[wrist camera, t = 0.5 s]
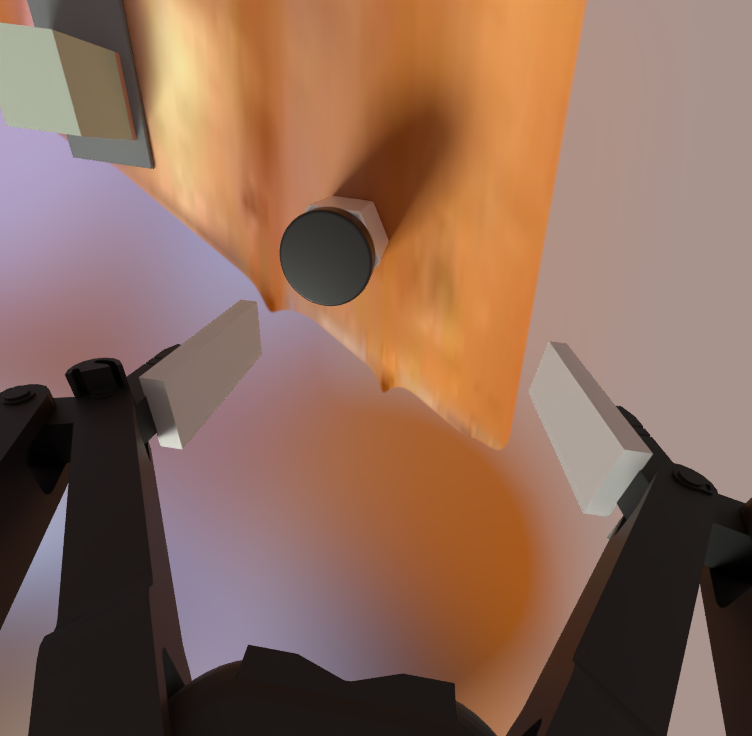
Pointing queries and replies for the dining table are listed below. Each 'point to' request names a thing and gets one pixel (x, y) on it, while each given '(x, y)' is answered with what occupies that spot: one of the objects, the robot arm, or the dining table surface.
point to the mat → (109, 30)
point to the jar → (333, 249)
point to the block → (62, 84)
